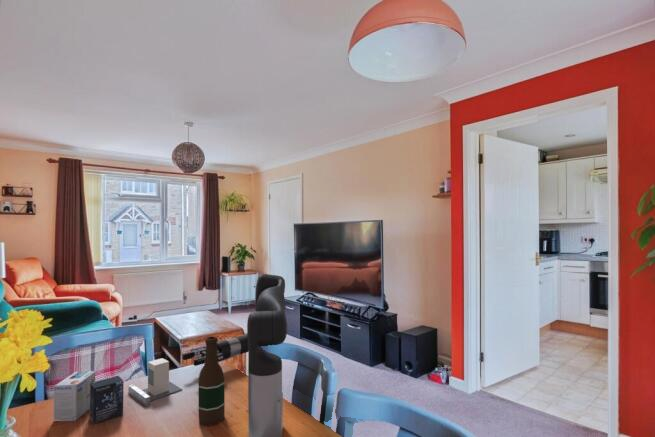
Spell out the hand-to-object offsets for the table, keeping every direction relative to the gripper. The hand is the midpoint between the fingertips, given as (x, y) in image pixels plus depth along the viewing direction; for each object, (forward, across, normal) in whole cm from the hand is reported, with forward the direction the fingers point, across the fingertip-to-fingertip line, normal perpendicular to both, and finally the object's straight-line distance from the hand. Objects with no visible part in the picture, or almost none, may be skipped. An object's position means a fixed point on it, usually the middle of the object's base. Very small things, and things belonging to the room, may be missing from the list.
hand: (188, 360), depth 136 cm
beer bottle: (+8, +30, +8) cm, 33 cm away
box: (+29, +5, +8) cm, 30 cm away
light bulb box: (+34, -5, +8) cm, 36 cm away
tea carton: (+11, 0, +8) cm, 13 cm away
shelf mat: (+11, 0, +8) cm, 13 cm away
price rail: (+17, 0, +8) cm, 19 cm away
